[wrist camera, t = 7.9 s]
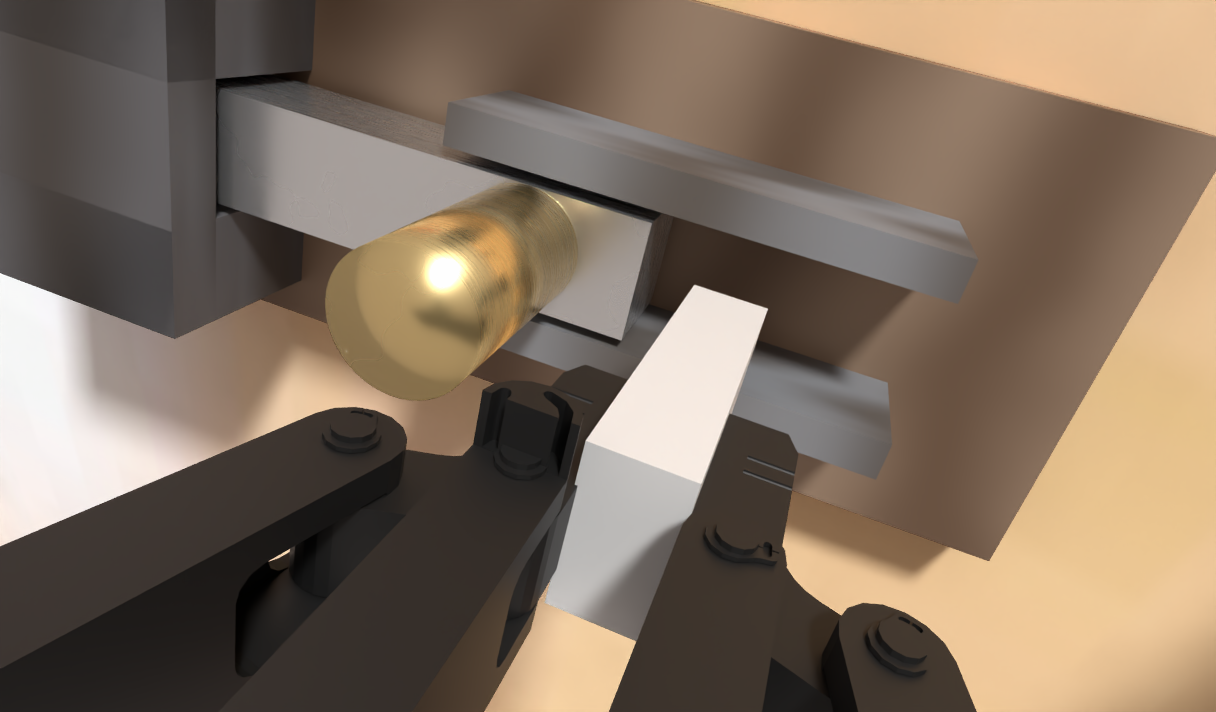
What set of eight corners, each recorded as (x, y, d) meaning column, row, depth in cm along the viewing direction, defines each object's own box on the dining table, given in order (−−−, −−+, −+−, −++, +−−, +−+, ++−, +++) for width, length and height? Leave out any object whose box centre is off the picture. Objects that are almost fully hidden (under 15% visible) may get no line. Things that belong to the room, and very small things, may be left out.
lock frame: (1197, 130, 19) (1375, 187, 12) (979, 521, 24) (1023, 705, 17) (143, -143, 24) (-127, -204, 17) (157, 232, 29) (-45, 292, 22)
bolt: (679, 197, 20) (572, 300, 13) (650, 301, 22) (538, 450, 14) (160, 39, 23) (-181, 48, 15) (163, 141, 24) (-150, 195, 17)
